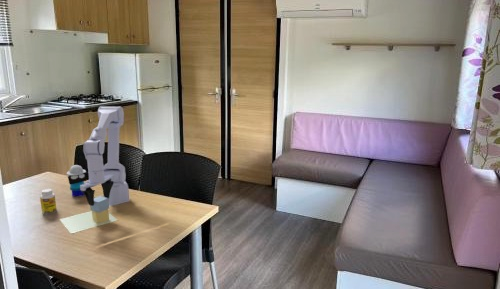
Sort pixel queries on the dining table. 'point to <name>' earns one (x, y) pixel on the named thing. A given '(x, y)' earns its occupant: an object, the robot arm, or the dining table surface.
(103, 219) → the mustard brick
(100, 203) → the blue brick
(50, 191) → the supplement bottle
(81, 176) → the toy
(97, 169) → the robot arm
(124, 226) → the dining table surface
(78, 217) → the baseplate
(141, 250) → the dining table surface
